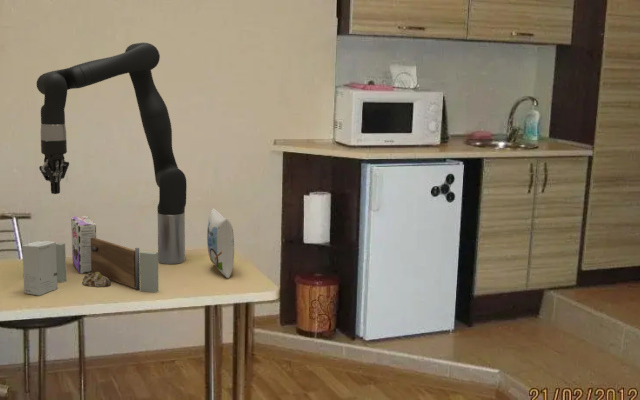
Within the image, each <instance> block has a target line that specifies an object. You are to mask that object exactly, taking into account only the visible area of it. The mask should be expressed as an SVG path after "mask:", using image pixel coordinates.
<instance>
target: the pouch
mask: <svg viewBox="0 0 640 400" xmlns="http://www.w3.org/2000/svg"><path fill="white" fill-rule="evenodd" d="M206 231H207V232H206V235H207V236H206V238H207V239H206V240H207V252H208V256H209V259H210V261H211V263H212V264H213V265H214V266H215V267H216V269H217V270H219V272H220V273H221V274H222V275H223V276H224V277H225V278H226V279H230V276H231V275H232V272H233V268H234V262H235V237H234V236H235V235H234V229H233V226H232V223H231V222H230V220H229V219H227V218H225V216H223V215H222V214H221V213H220V212H219V211H218V210H216V209H215V208H214V207H212V209H211V211H210V213H209V217H208V221H207V230H206Z"/></svg>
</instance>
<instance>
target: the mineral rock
mask: <svg viewBox="0 0 640 400" xmlns="http://www.w3.org/2000/svg"><path fill="white" fill-rule="evenodd" d="M111 282H112V280H111V279H109V278H107V277H105V276H102V275H101V274H100V272H95V273H86V274H85V275H84V277H83V279H82V282H81V283H82V286H87V287H95V288H105V287H110V286H111Z"/></svg>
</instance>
